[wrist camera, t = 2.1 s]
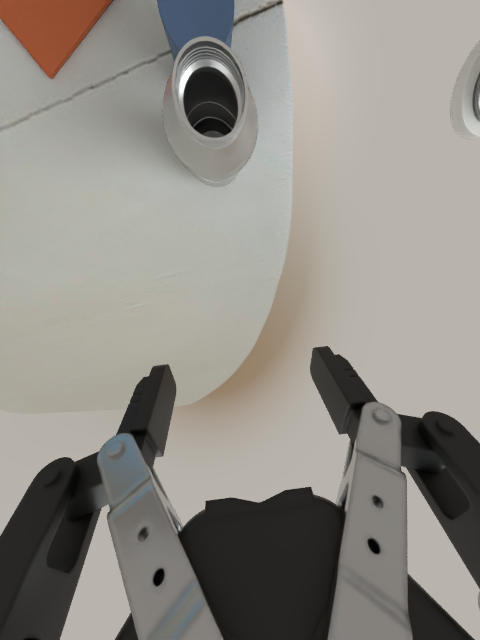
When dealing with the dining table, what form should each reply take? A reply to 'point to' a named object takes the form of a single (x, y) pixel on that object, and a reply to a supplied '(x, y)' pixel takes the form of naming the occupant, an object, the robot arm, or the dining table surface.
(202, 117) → the silver metal bottle
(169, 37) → the blue canister
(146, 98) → the dining table surface
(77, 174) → the dining table surface
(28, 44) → the terracotta mat
